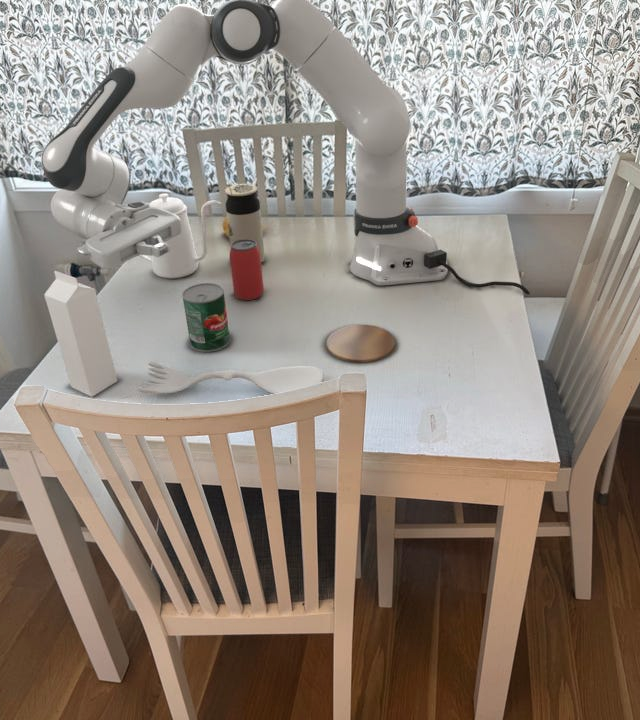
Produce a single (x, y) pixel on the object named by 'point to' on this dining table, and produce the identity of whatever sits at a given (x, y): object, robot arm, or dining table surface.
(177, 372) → the white serving fork
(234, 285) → the beer can
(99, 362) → the milk
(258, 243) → the travel mug
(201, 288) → the canned tomato
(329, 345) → the wooden trivet
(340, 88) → the robot arm
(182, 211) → the coffeepot
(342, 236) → the dining table surface
